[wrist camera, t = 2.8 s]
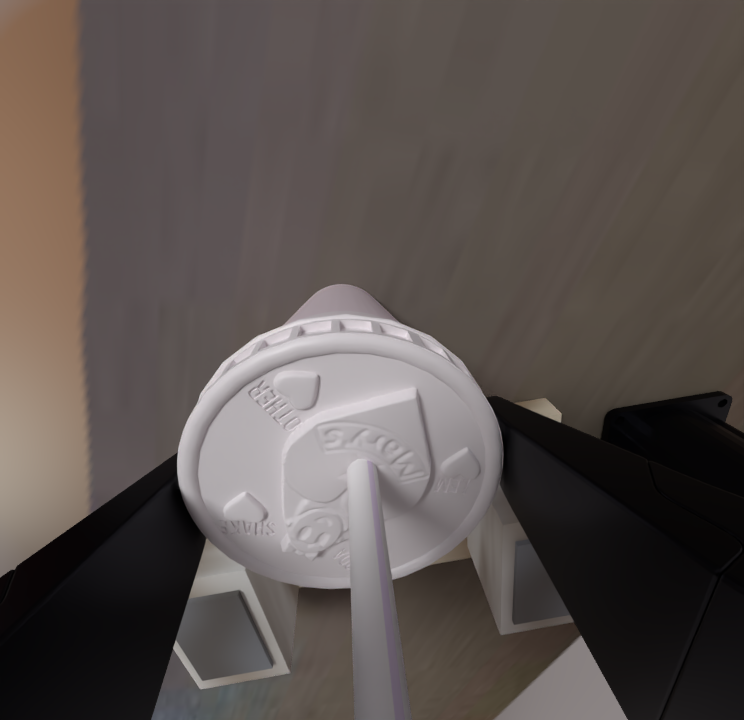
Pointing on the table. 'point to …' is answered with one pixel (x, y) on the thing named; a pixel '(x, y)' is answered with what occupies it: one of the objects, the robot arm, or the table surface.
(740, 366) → the table surface
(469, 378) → the smoothie
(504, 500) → the board
